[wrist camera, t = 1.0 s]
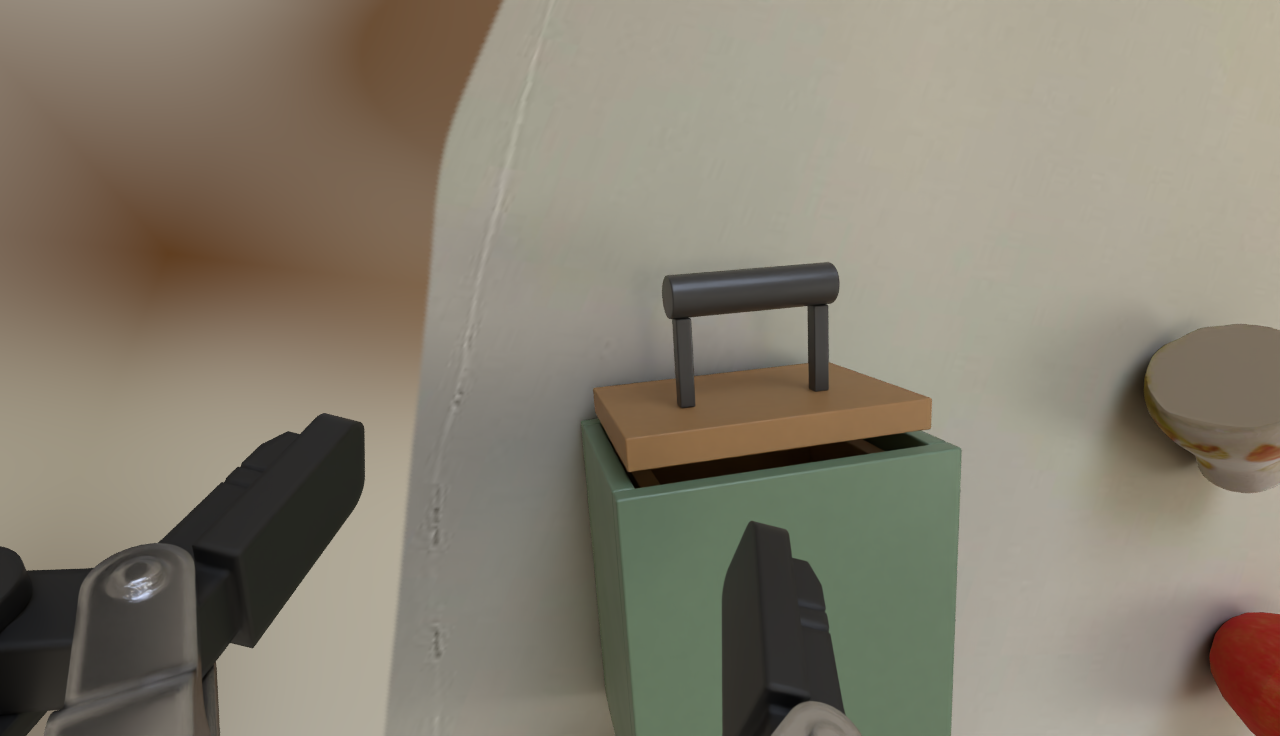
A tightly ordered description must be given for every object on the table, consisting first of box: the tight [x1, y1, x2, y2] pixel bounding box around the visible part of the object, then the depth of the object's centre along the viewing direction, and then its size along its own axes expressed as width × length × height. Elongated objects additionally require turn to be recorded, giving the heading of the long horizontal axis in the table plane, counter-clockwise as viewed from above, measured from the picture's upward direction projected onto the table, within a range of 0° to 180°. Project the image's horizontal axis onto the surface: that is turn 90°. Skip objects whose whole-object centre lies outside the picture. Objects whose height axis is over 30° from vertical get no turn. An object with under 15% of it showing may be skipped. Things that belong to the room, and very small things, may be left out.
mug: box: [1144, 324, 1280, 493], centre depth 34 cm, size 8×10×10 cm
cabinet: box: [581, 419, 962, 736], centre depth 27 cm, size 15×13×10 cm
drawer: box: [593, 262, 932, 489], centre depth 26 cm, size 18×11×8 cm, turn 4°
